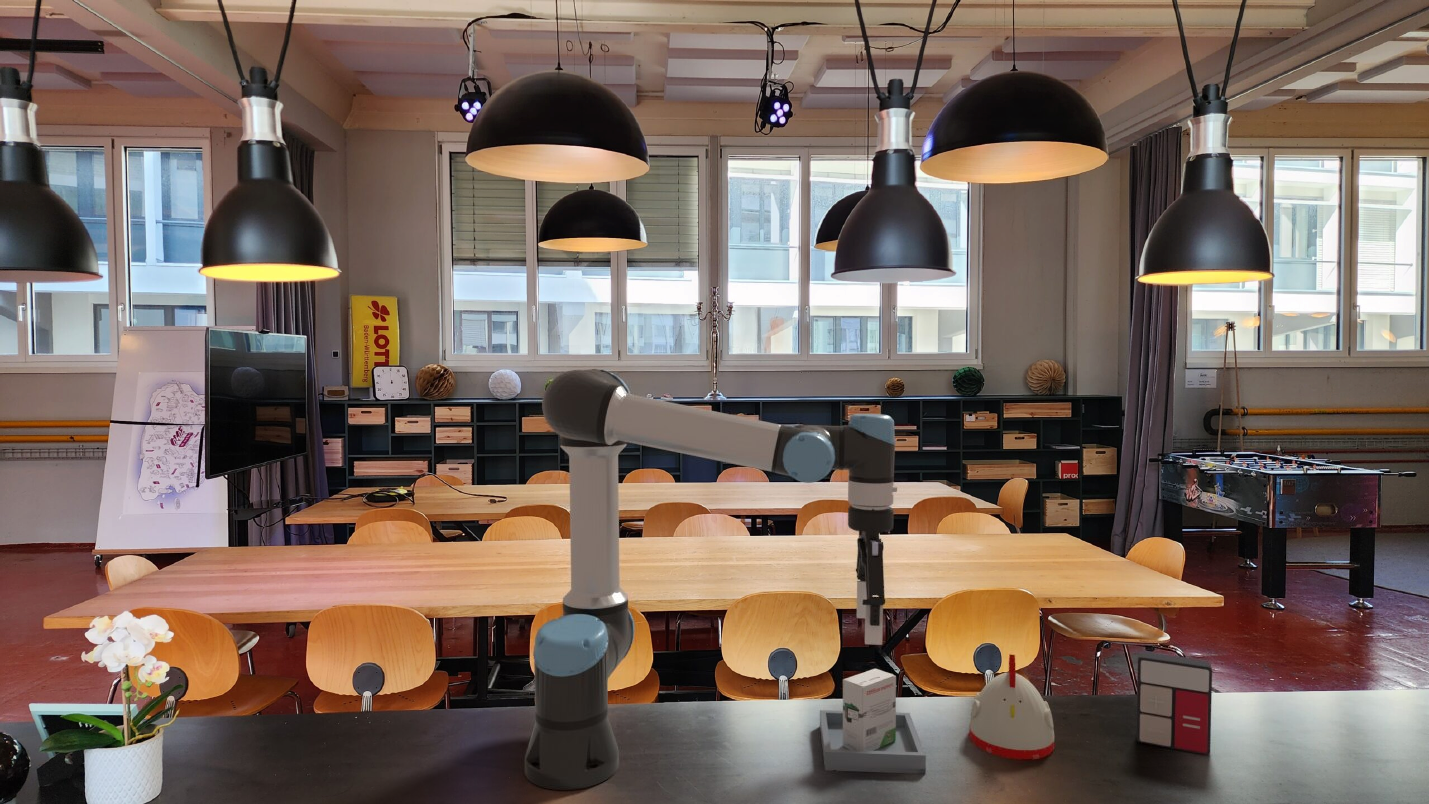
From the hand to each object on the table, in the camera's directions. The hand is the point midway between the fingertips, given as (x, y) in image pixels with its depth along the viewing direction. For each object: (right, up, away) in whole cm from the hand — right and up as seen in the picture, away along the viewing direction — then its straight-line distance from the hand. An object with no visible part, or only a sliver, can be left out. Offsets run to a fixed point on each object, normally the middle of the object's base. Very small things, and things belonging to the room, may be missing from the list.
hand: (868, 630), depth 137 cm
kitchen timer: (+26, -21, +4) cm, 33 cm away
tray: (0, -20, +1) cm, 20 cm away
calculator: (+53, -21, +2) cm, 56 cm away
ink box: (0, -20, +1) cm, 20 cm away
